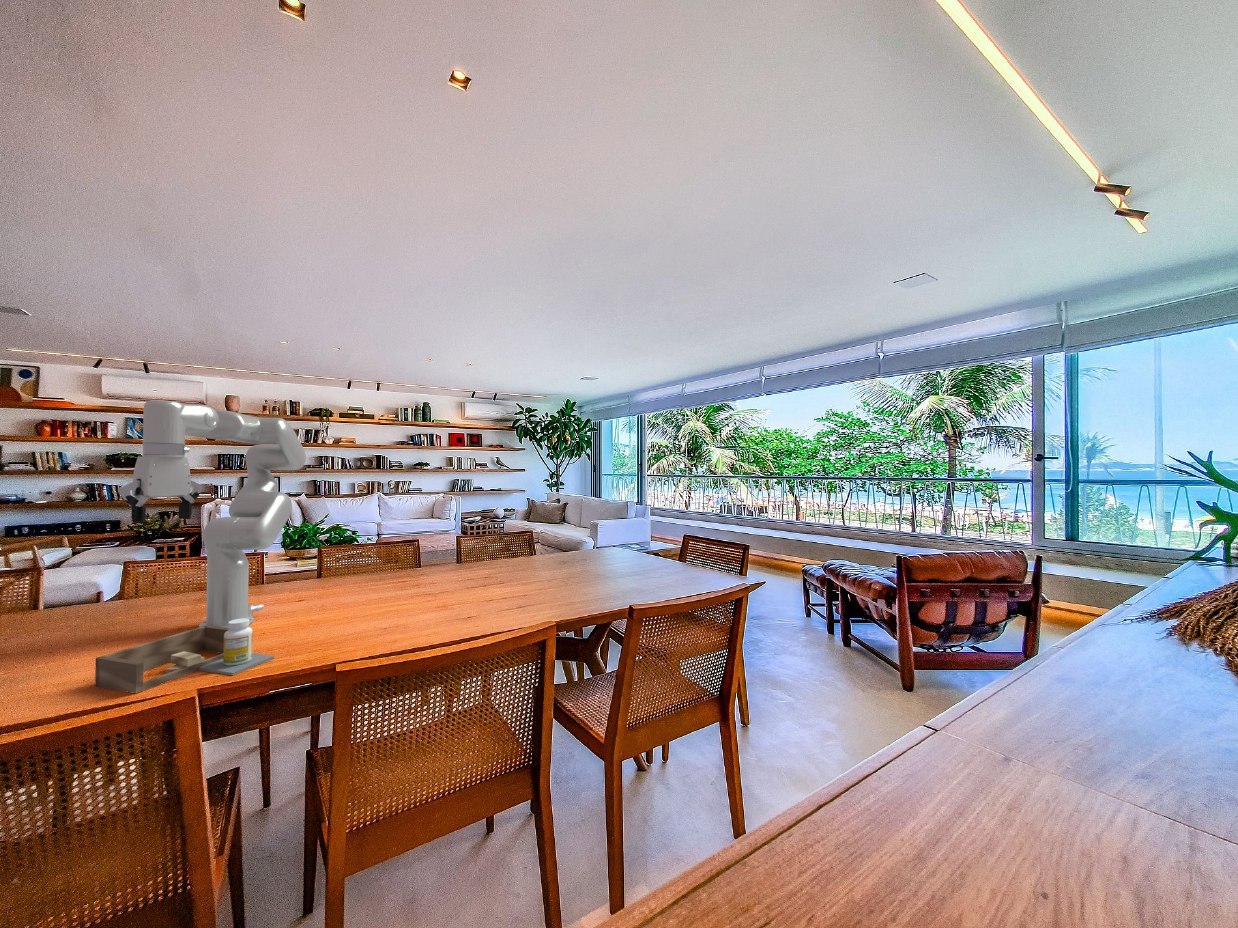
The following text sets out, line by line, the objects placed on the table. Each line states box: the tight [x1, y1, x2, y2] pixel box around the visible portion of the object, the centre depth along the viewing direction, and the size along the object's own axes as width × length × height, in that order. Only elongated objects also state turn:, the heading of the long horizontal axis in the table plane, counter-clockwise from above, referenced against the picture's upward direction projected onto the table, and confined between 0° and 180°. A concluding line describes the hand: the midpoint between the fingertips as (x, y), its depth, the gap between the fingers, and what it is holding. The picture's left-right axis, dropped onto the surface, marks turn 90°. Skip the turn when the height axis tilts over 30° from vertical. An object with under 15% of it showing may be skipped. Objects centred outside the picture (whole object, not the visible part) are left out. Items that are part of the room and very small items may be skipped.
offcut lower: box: [165, 656, 205, 674], centre depth 112 cm, size 7×3×2 cm, turn 2°
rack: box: [94, 625, 229, 694], centre depth 112 cm, size 22×12×6 cm, turn 166°
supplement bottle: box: [223, 618, 253, 666], centre depth 115 cm, size 5×5×10 cm
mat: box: [198, 652, 275, 676], centre depth 115 cm, size 10×10×1 cm
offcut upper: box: [170, 651, 202, 667], centre depth 112 cm, size 6×3×2 cm, turn 71°
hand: (162, 520), depth 119 cm, fingers open, 9 cm apart
